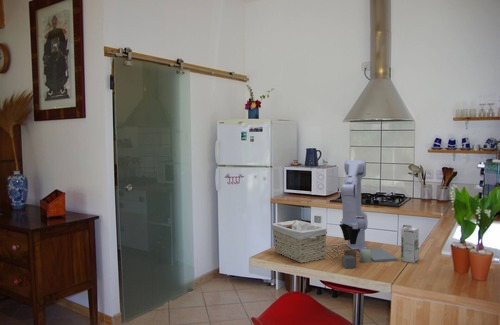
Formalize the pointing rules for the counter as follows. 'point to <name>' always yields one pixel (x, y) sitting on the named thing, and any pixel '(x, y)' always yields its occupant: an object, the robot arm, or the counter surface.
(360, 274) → the counter surface
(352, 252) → the walnut block
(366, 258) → the sage cylinder
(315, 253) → the storage basket
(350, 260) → the charcoal cube
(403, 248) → the syrup box
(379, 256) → the slate mat
